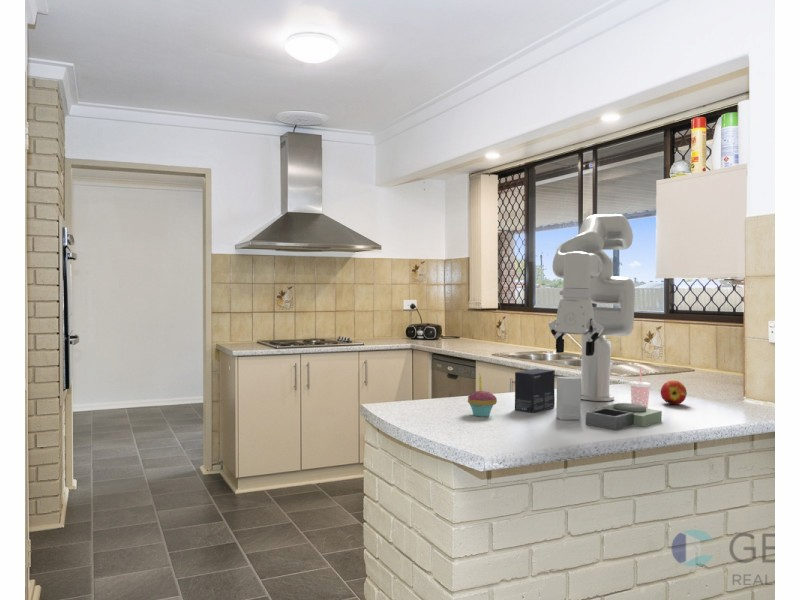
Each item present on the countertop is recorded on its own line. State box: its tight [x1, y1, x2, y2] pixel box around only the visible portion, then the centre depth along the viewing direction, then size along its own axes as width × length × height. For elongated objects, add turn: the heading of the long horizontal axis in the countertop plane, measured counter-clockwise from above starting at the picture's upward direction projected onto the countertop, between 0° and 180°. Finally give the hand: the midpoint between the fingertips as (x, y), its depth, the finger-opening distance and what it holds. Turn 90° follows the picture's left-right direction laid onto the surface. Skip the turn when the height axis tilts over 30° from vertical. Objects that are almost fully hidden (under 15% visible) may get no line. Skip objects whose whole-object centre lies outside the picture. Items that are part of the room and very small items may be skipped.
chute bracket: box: [585, 408, 634, 431], centre depth 178 cm, size 9×10×4 cm
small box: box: [514, 368, 556, 414], centre depth 199 cm, size 13×7×12 cm, turn 137°
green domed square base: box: [595, 402, 663, 428], centre depth 185 cm, size 14×12×4 cm
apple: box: [660, 379, 688, 405], centre depth 213 cm, size 8×8×8 cm
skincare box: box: [555, 376, 582, 421], centre depth 185 cm, size 6×4×12 cm
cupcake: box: [467, 373, 498, 418], centre depth 188 cm, size 9×8×12 cm
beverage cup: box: [629, 366, 652, 409], centre depth 198 cm, size 6×6×14 cm
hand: (574, 353), depth 184 cm, fingers open, 9 cm apart
